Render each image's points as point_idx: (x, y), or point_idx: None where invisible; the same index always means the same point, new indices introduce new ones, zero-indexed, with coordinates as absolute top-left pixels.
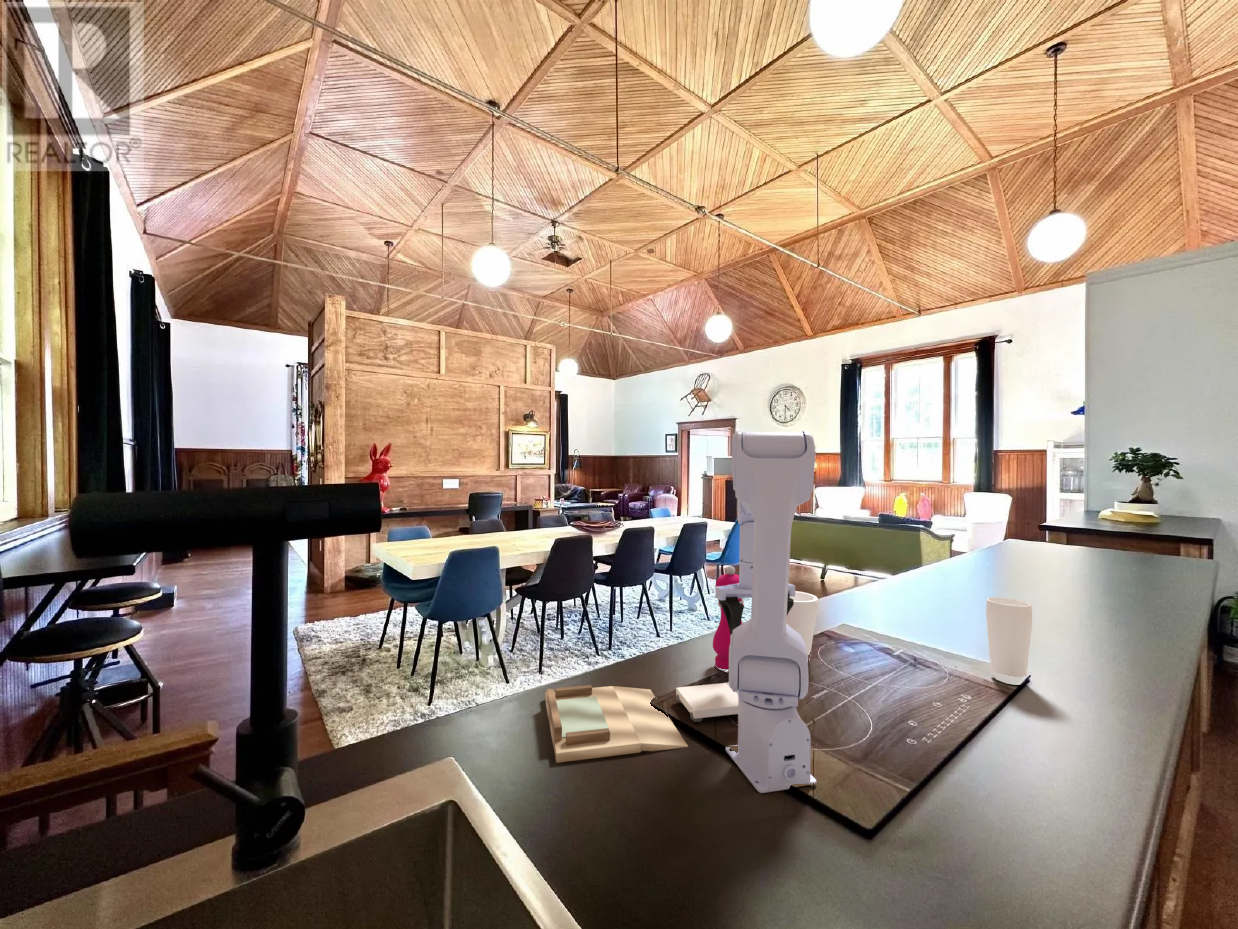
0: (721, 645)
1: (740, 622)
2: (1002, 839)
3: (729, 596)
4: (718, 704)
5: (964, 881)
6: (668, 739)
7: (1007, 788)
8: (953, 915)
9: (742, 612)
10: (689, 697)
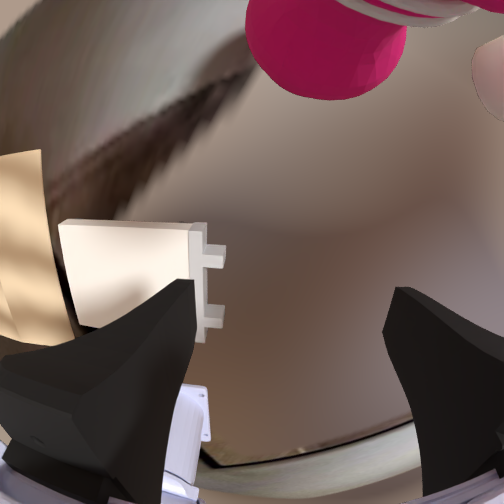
0: (256, 53)
1: (170, 413)
2: (314, 478)
3: (60, 501)
4: None
5: (249, 487)
6: (52, 335)
7: (389, 452)
8: (221, 491)
9: (162, 473)
10: (76, 278)
